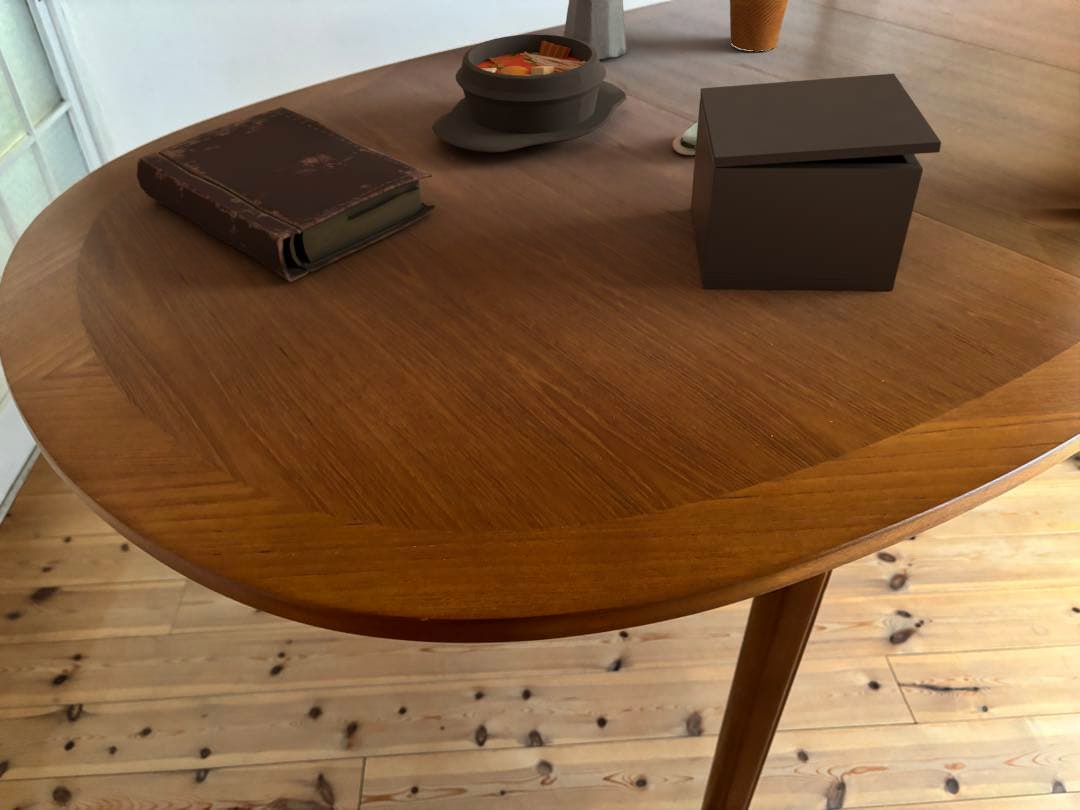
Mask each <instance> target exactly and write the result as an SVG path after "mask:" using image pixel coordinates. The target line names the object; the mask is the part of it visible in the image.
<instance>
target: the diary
mask: <svg viewBox="0 0 1080 810" xmlns="http://www.w3.org/2000/svg"><path fill="white" fill-rule="evenodd" d="M432 177H433V174H432V173H430V172H428V171H425V170H424V169H421V168H418V167H416V166H414V165H411V164H409V163H407V162H404V161H402V160H399V159H398V158H394V157H392V156H390V155H388V154H385V153H383V152H381V151H379V150H376V149H373V148H372V147H370V146H367V145H364V144H362V143H359V142H357V141H355V140H353V139H351V138H349V137H347V136H345V135H344V134H342V133H340V132H338V131H336V130H334V129H332V128H331V127H329V126H327V125H325V124H323V123H321V122H319V121H317V120H315V119H312V118H311V117H308V116H305V115H303V114H301V113H298V112H295V111H293V110H291V109H288V108H287V107H283V106H280V107H276V108H274V109H270V110H268V111H264V112H261V113H258V114H255V115H253V116H249V117H246V118H243V119H240V120H237V121H235V122H231V123H228V124H225V125H222V126H220V127H216V128H213V129H210V130H208V131H206V132H203V133H200V134H198V135H196V136H193V137H191V138H188V139H186V140H183V141H180V142H177V143H175V144H173V145H171V146H168V147H166V148H164V149H161V150H159V151H158V152H153V153H150V154H148V155H144V156H142V157H139V158H138V161H137V165H136V178H137V181H138V184H139V187H140V188H141V190H142V191H143V192H144V193H145V195H146V196H148V197H149V198H150V199H152V200H154V201H155V202H157V203H159V204H161V205H163V206H165V207H166V208H168V209H171V211H174V212H176V213H177V214H179V215H181V216H183V217H184V218H185V219H187V220H188V221H191V222H192V223H193V224H195V225H196V226H198V227H200V228H201V229H202V230H204V231H206V232H207V233H208V234H210V235H212V236H213V237H214V238H216V239H219V240H220V241H222V242H224V243H225V244H228V245H230V246H232V247H233V248H234V249H237V250H239V251H241V252H243V253H244V254H246V255H248V256H249V257H251V258H252V259H254V260H256V261H257V262H259V263H260V264H262V265H263V266H265V267H266V268H267V269H269V270H270V271H272V272H273V273H275V274H276V275H278V276H280V277H281V278H283V279H285V280H286V281H288V282H290V283H293V282H294V281H296V280H298V279H300V278H302V277H305V276H306V275H308V274H309V272H310V273H314V272H315V271H316V270H319V269H321V268H323V267H325V266H328V265H330V264H332V263H334V262H336V261H338V260H340V259H343V258H345V257H347V256H349V255H351V254H353V253H355V252H357V251H359V250H362V249H364V248H366V247H368V246H370V245H372V244H375V243H376V242H378V241H381V240H383V239H384V238H387V237H389V236H391V235H393V234H395V233H398V232H399V231H402V230H403V229H405V228H407V227H409V226H410V225H412V224H414V223H416V222H418V221H420V220H422V219H424V218H425V217H427V216H429V215H430V214H431V213H432V212H433V210H435V208H436V205H435V204H431V205H428V204H426V203H423V202H422V198H421V190H420V181H421V180H423V179H428V178H432Z"/></svg>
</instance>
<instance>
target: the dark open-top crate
mask: <svg viewBox="0 0 1080 810" xmlns="http://www.w3.org/2000/svg"><path fill="white" fill-rule="evenodd" d="M698 105H699V106H698V119H697V122H698V128H697V140H696V152H695V155H694V165H693V175H692V189H691V201H690V213H691V219H692V226H693V234H694V241H695V248H696V254H697V261H698V268H699V274H700V283H701V288H702V289H704V290H706V289H707V290H711V289H712V290H791V291H793V290H795V291H796V290H797V291H888V292H889V291H892V292H893V290H894V287H895V284H896V278H897V275H898V271H899V267H900V263H901V259H902V256H903V252H904V247H905V243H906V239H907V235H908V231H909V228H910V223H911V219H912V216H913V211H914V209H915V204H916V201H917V196H918V191H919V189H920V184H921V181H922V176H923V172H924V167H923V166H922V164H921V163H920V161H919V160H918V158H917V156H916V154H907V155H892V156H877V157H863V158H848V159H833V160H818V161H803V162H789V163H774V164H759V165H744V166H730V167H715V165H714V160H713V155H712V151H711V146H710V141H709V136H708V131H707V126H706V122H705V117H704V112H703V107H702V102H701V97H700V98H699V104H698Z"/></svg>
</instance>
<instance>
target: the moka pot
mask: <svg viewBox="0 0 1080 810" xmlns="http://www.w3.org/2000/svg"><path fill="white" fill-rule="evenodd" d="M567 5H568V6H567V11H566V18H565V26H564V31H563V32H564V33H563V37H569V38H573V39H577V40H580V41H583V42H585V43H587V44H589V45H591V46H592V47H593V48H594V49H595V50H596V52H597V55H598V58H599V60H605V59H613V58H618V57H620V56H623V55H624V54H625V53H626V51H625V49H626V50H627V40H626V39H627V38H626V25H625V10H624V9H625V8H624V0H568V4H567ZM622 54H623V55H622Z"/></svg>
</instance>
